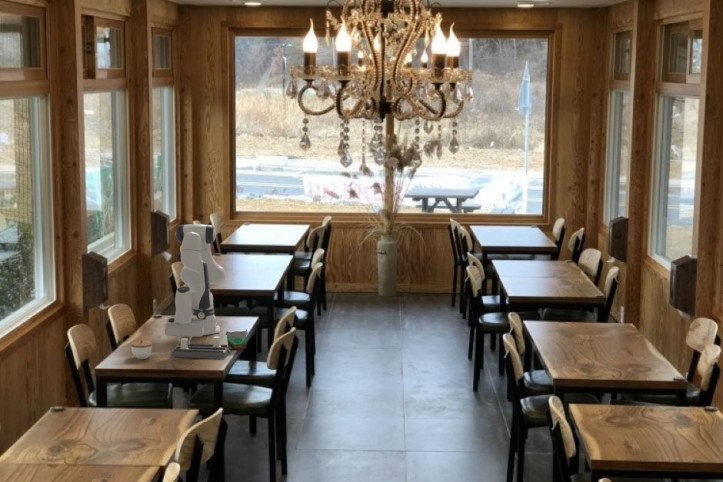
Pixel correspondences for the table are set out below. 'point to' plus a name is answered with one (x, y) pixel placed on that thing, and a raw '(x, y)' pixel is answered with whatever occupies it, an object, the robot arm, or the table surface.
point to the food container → (236, 340)
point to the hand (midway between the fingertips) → (184, 344)
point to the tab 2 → (216, 341)
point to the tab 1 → (184, 343)
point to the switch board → (201, 351)
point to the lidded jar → (141, 349)
